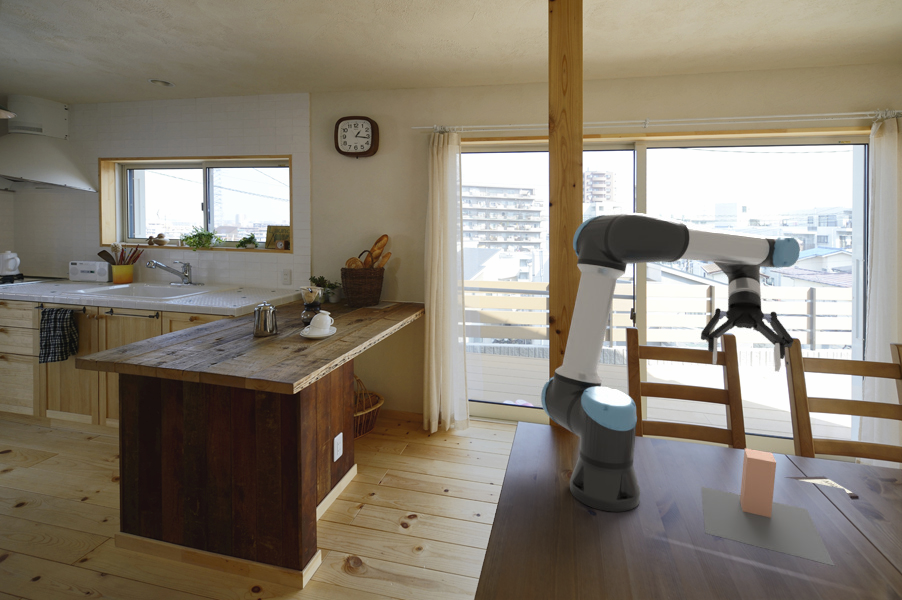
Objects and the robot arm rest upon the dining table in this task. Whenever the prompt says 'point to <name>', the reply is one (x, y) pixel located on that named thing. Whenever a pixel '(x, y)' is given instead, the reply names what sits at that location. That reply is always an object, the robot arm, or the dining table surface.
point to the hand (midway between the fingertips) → (745, 365)
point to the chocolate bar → (824, 483)
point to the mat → (763, 526)
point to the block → (757, 482)
